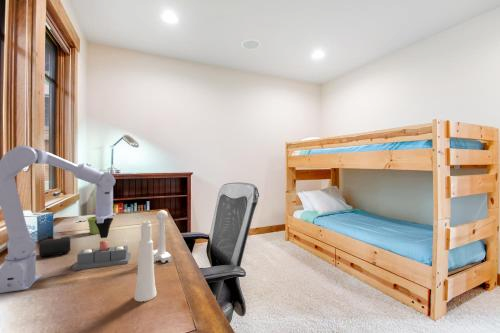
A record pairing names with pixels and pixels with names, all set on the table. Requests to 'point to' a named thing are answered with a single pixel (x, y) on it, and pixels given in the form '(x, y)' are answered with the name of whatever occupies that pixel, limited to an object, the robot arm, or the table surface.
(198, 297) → the table surface
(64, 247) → the end cap
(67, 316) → the table surface
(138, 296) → the cosmetic bottle
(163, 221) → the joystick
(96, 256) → the socket strip
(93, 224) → the plant pot
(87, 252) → the near ivory plug
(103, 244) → the salmon rounded peg
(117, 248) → the far ivory plug
